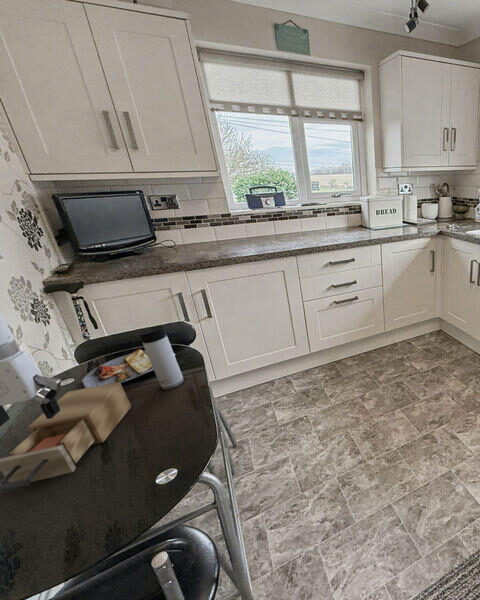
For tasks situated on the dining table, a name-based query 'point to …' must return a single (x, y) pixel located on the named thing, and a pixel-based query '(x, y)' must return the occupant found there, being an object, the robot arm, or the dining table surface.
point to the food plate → (119, 369)
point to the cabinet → (90, 409)
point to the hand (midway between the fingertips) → (28, 419)
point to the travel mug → (162, 357)
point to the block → (49, 442)
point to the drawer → (46, 454)
